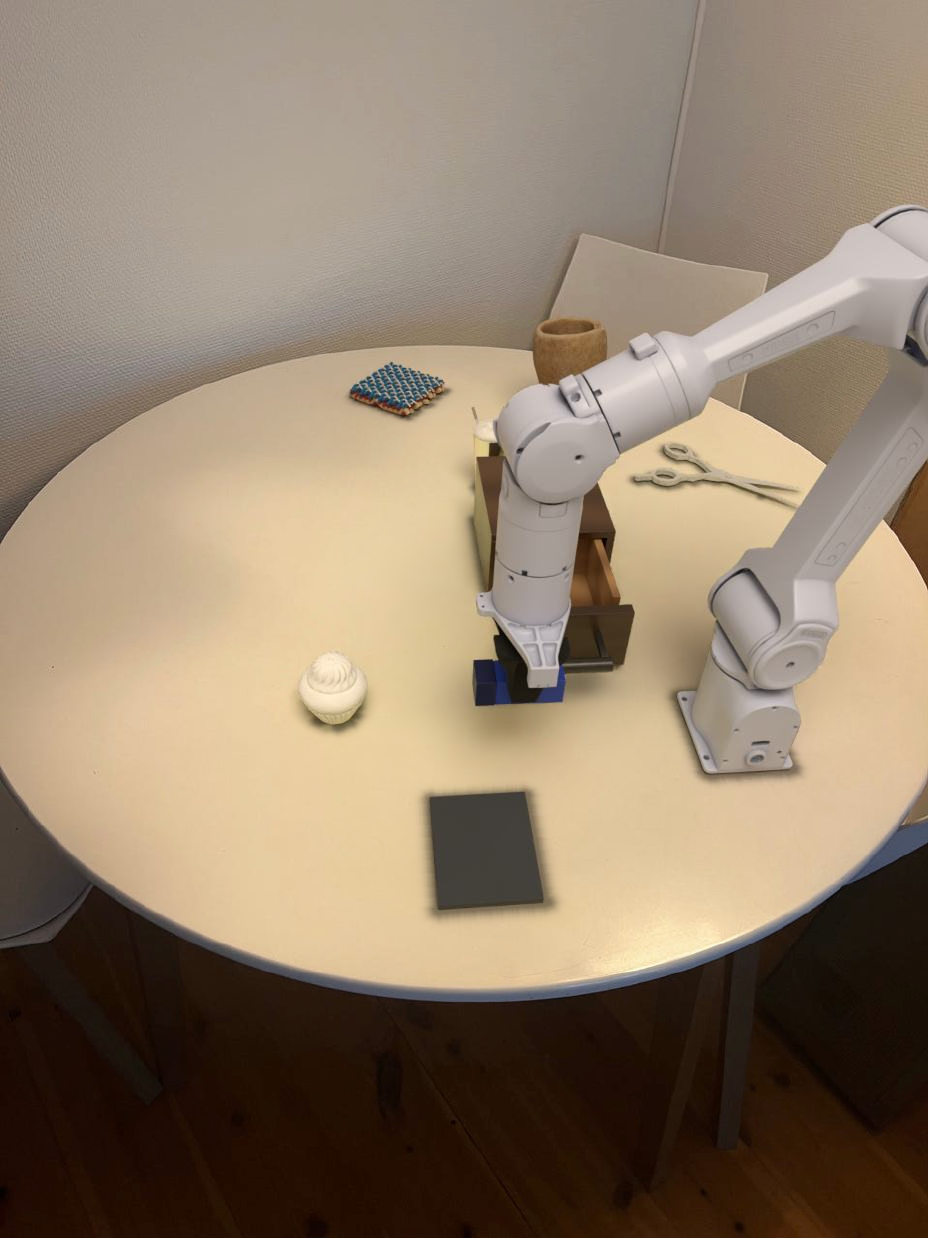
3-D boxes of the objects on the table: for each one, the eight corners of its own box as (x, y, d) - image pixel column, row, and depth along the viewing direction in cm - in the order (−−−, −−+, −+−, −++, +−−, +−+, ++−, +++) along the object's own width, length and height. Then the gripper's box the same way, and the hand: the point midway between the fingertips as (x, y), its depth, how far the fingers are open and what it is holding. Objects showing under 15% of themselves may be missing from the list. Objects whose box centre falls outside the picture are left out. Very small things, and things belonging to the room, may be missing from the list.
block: (563, 703, 72) (566, 680, 70) (475, 706, 71) (476, 683, 69) (557, 679, 74) (560, 656, 72) (471, 682, 73) (473, 659, 71)
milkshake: (480, 471, 112) (484, 399, 105) (514, 487, 109) (520, 415, 102) (458, 486, 109) (460, 413, 102) (492, 503, 106) (496, 429, 100)
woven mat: (448, 390, 127) (449, 377, 126) (406, 420, 120) (406, 407, 119) (390, 371, 131) (389, 358, 130) (345, 399, 124) (345, 386, 123)
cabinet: (604, 596, 94) (616, 531, 88) (487, 600, 93) (491, 535, 87) (578, 516, 105) (587, 453, 99) (473, 519, 104) (476, 456, 98)
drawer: (635, 700, 82) (647, 648, 77) (513, 706, 81) (519, 653, 76) (595, 576, 95) (604, 525, 91) (490, 580, 94) (494, 528, 90)
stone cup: (542, 401, 126) (552, 297, 116) (623, 420, 122) (640, 314, 112) (502, 451, 115) (510, 342, 105) (589, 473, 112) (606, 362, 102)
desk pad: (543, 902, 67) (543, 898, 67) (438, 910, 66) (438, 906, 66) (524, 795, 75) (524, 791, 74) (429, 801, 74) (429, 796, 73)
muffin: (372, 689, 83) (370, 635, 78) (364, 739, 79) (361, 685, 74) (307, 686, 83) (300, 631, 78) (295, 735, 79) (287, 681, 74)
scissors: (657, 436, 118) (810, 474, 112) (656, 442, 118) (808, 479, 112) (634, 475, 110) (797, 517, 104) (633, 481, 111) (795, 523, 105)
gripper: (470, 496, 68) (464, 626, 77) (490, 623, 57) (480, 756, 66) (560, 494, 68) (544, 623, 78) (597, 619, 58) (573, 752, 67)
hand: (520, 684), depth 72 cm, fingers closed on block, 2 cm apart
